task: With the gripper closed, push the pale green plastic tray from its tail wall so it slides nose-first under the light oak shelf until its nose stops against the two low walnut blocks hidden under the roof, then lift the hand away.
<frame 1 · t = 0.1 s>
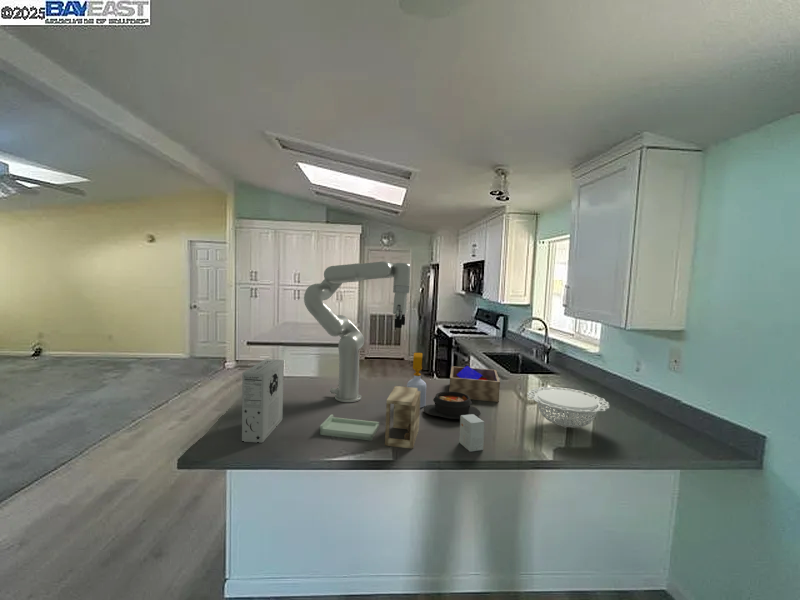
hand: (399, 326, 183), 37 cm above the countertop, tool pointing down, fingers open, 9 cm apart
casserole: (451, 415, 173), on the countertop
colander: (564, 428, 164), on the countertop
shelf: (401, 436, 148), on the countertop
small box: (470, 446, 143), on the countertop
house: (473, 392, 207), resting in open wooden box
tray: (350, 431, 152), on the countertop
cereal box: (263, 430, 149), on the countertop
soap bottle: (415, 405, 184), on the countertop
open wooden box: (473, 392, 207), on the countertop
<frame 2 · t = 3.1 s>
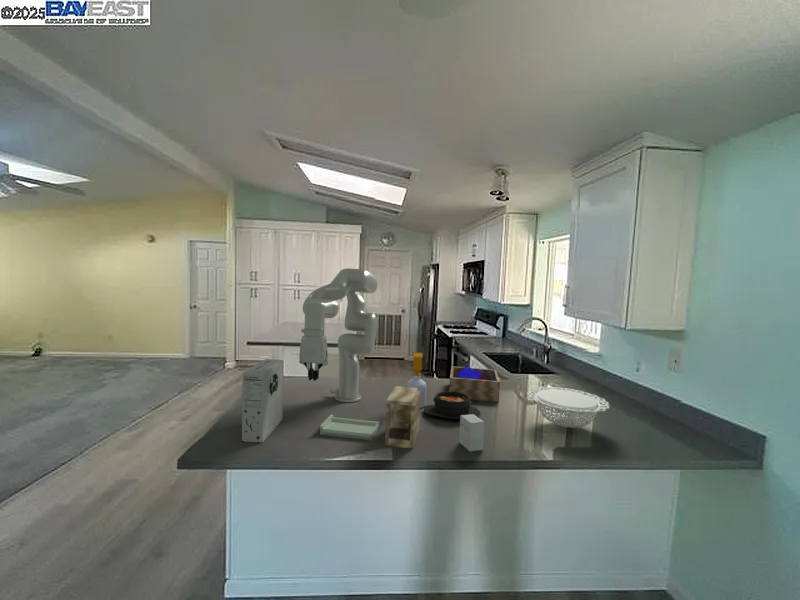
hand: (313, 379, 153), 19 cm above the countertop, tool pointing down, fingers closed
nothing on the countertop moved.
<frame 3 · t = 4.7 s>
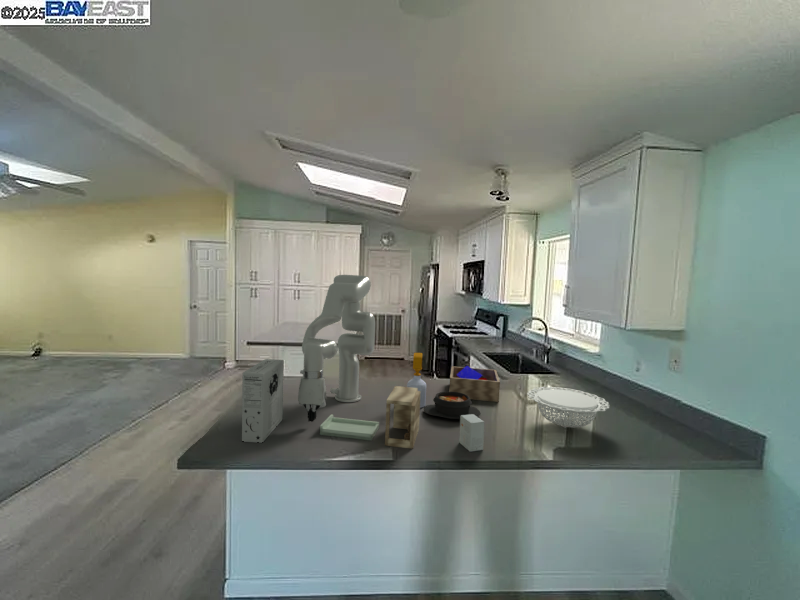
hand: (311, 420, 153), 3 cm above the countertop, tool pointing down, fingers closed
nothing on the countertop moved.
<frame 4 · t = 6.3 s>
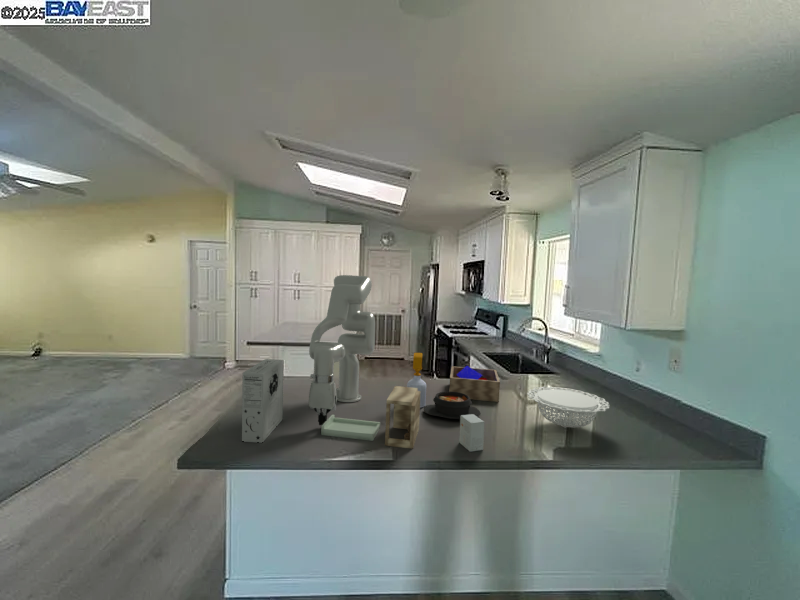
hand: (322, 424, 153), 2 cm above the countertop, tool pointing down, fingers closed
tray: (351, 431, 151), on the countertop, touching gripper
everything else where it was.
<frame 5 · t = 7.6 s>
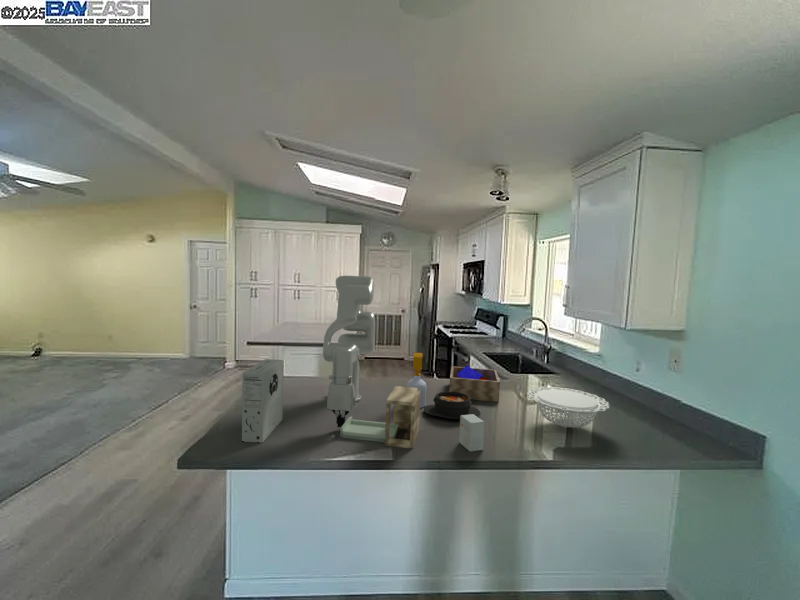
hand: (340, 425, 152), 2 cm above the countertop, tool pointing down, fingers closed
tray: (370, 433, 150), on the countertop, touching gripper
everything else where it was.
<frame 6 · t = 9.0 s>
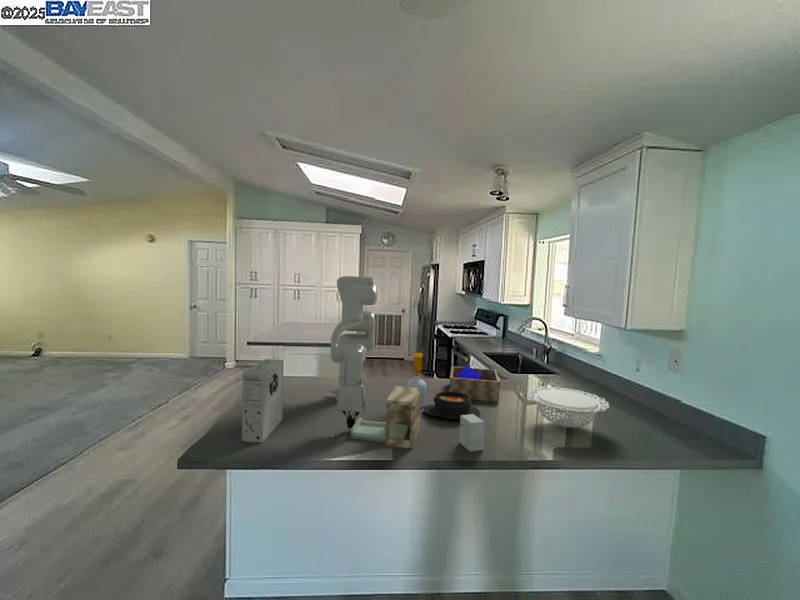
hand: (350, 427, 151), 2 cm above the countertop, tool pointing down, fingers closed
tray: (380, 434, 149), on the countertop, touching gripper, shelf
everything else where it was.
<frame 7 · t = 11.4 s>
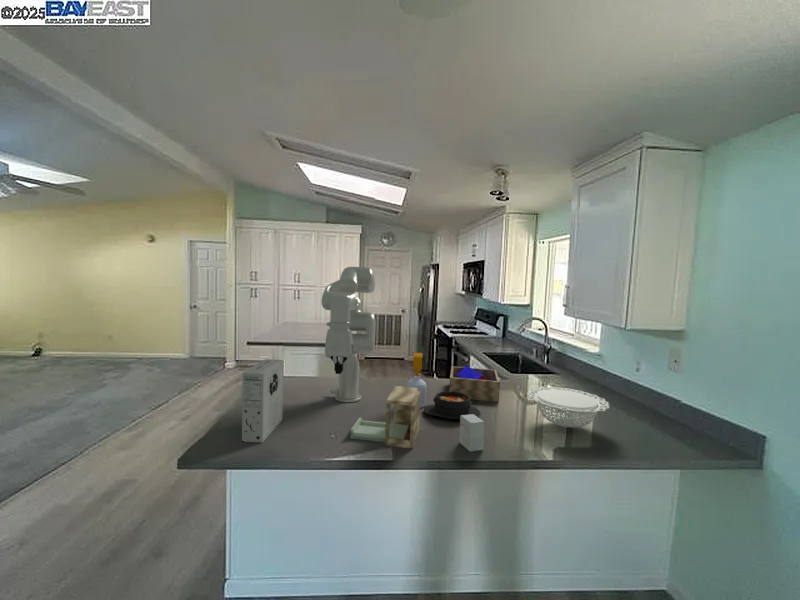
hand: (338, 373, 152), 22 cm above the countertop, tool pointing down, fingers closed
tray: (380, 434, 149), on the countertop
everything else where it was.
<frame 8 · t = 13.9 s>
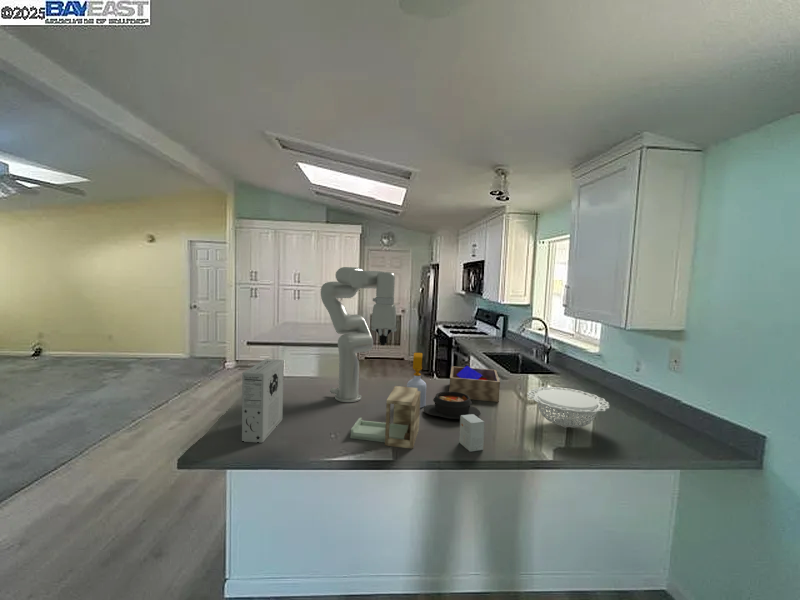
hand: (383, 344, 166), 31 cm above the countertop, tool pointing down, fingers closed
nothing on the countertop moved.
at the end: tray 0.3 cm from the target spot, on the countertop; tray moved 12.0 cm from its start; tray tilted 0° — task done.
